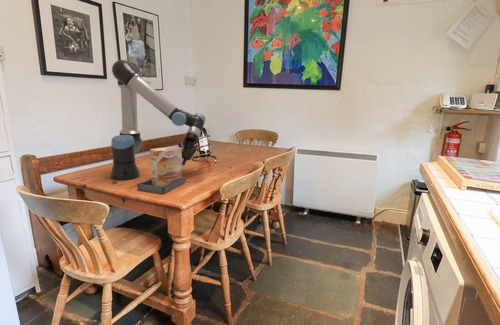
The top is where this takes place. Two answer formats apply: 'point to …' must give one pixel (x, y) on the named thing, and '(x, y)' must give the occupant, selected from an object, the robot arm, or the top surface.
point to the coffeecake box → (166, 165)
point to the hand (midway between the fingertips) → (179, 169)
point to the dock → (162, 190)
